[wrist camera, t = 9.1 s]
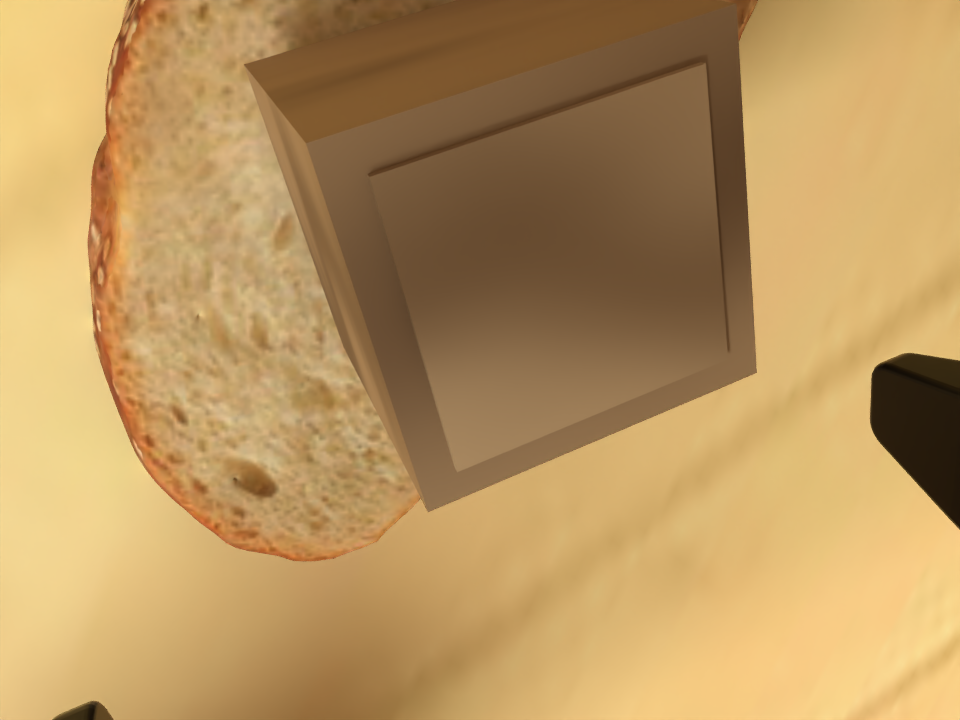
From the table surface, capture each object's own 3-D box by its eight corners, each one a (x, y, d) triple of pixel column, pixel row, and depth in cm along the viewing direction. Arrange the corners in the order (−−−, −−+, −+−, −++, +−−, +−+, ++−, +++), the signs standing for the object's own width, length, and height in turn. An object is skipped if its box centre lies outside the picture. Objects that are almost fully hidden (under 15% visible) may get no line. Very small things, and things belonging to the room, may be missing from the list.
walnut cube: (594, 253, 20) (760, 376, 15) (343, 347, 19) (430, 516, 13) (549, -28, 17) (741, 4, 11) (243, 64, 15) (308, 145, 10)
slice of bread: (225, 577, 24) (241, 679, 21) (-248, -162, 14) (-350, -178, 11) (779, 313, 27) (866, 368, 24) (700, -451, 17) (830, -529, 14)
